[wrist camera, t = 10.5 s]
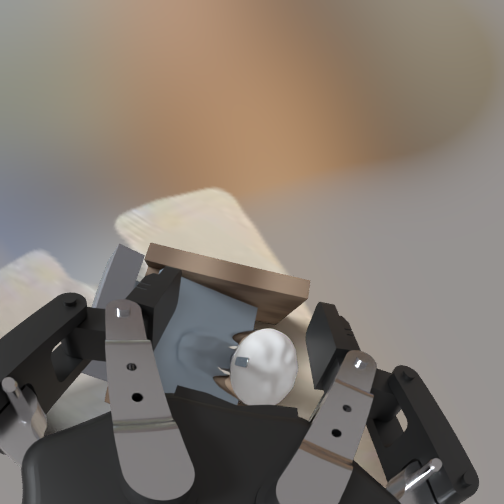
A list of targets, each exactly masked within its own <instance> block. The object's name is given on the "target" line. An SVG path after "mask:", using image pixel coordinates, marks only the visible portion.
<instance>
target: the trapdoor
mask: <svg viewBox="0 0 504 504" xmlns="http://www.w3.org/2000/svg"><path fill="white" fill-rule="evenodd" d="M144 256H145V255H142V254H140V253H138V252H136V251H134V250H132V249H130V248H128V247H125V246H123V245H121V244H119V245H118V246H117V248H116V250H115V251H114V253H113V255H112V256H111V257H110V259H109V260H108V262H107V264H106V267H105V270H104V272H103V275H102V278H101V281H100V283H99V286H98V289H97V292H96V295H95V298H94V301H93V304H92V308H100V309H106V306H107V304H108V303H109V302H111V301H114V300H118V299H125V298H126V297H127V296H128V295H129V294H130V293H131V291H132V290H133V289H134V288H135V287H136V286H137V285H138V284H139V283H140V282H138V281H136V279H137V276H138V273H139V270H140V267H141V265H142V262H143V259H144ZM162 270H163V269H162ZM162 270H160V272H161V271H162ZM160 272H159V273H160ZM257 309H258V308H257V307H254V306H252V305H249V304H247V303H244V302H241V301H239V300H236V299H234V298H232V297H229V296H227V295H224V294H222V293H219V292H217V291H214V290H212V289H210V288H207V287H205V286H202V285H200V284H198V283H195V282H193V281H191V280H188V279H186V278H184V277H181V283H180V291H179V298H178V304H177V307H176V310H175V312H174V314H173V316H172V318H171V320H170V321H169V323H168V325H167V327H166V329H165V331H164V333H163V335H162V337H161V338H160V340H159V342H158V344H157V346H156V348H155V350H154V352H153V353H154V357H155V361H156V365H157V368H158V372H159V376H160V379H161V383H162V386H163V390H164V393H175V390H176V387H177V385H179V386H183V387H186V388H190V389H194V390H198V391H202V392H206V393H209V394H211V395H213V396H216V397H218V398H220V399H223V400H225V401H227V402H230V403H232V404H235V405H238V399H236V398H235V397H233V396H231V395H229V394H228V393H226V392H224V391H223V390H221V389H219V388H218V387H216V386H214V385H212V384H210V383H209V382H207V381H205V380H204V379H202V378H200V377H198V376H197V375H195V374H193V373H192V372H190V371H189V370H187V369H185V368H184V366H183V365H182V363H181V362H180V360H179V359H178V344H179V343H180V341H181V340H182V338H183V337H184V336H185V334H188V333H191V332H194V331H197V330H206V331H240V330H253V329H254V324H255V319H256V314H257ZM81 373H84V374H87V375H90V376H92V377H95V378H98V379H101V380H104V381H107V382H108V380H107V368H106V362H104V361H96V360H92V361H91V362H90V363H89V364H88V365H87V367H86V368H85V369H84V370H83V371H82V372H81Z"/></svg>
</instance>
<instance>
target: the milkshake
mask: <svg viewBox="0 0 504 504" xmlns="http://www.w3.org/2000/svg"><path fill="white" fill-rule="evenodd" d="M178 359H179V360H180V362H181V363H182V365H183V366H184V368H185V369H187V370H189V371H190V372H192V373H193V374H195V375H197V376H198V377H200V378H202V379H204V380H205V381H207V382H209V383H210V384H212V385H214V386H216V387H218V388H219V389H221V390H223V391H224V392H226V393H228V394H229V395H231V396H233V397H235V398H236V399H238V400H240V401H241V402H243V403H245V404H247V405H276V404H277V403H279V402H280V401H281V400H282V399H283V398H284V397H285V396H286V395H287V394H288V393H289V392H290V391H291V389H292V388H293V386H294V383H295V379H296V376H297V372H298V362H297V356H296V350H295V347H294V345H293V343H292V341H291V340H290V339H289V338H288V337H287V336H286V335H285V334H283V333H282V332H280V331H277V330H275V329H270V328H266V329H257V330H240V331H206V330H197V331H194V332H191V333H188V334H185V336H184V337H183V338H182V340H181V341H180V343H179V344H178Z"/></svg>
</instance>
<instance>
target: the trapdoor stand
mask: <svg viewBox="0 0 504 504" xmlns="http://www.w3.org/2000/svg"><path fill="white" fill-rule="evenodd" d="M144 260H145V261H146V263H147V265H148V269H147V272H146V275H145V276H147V275H149V274H152V273H156V274H159V272H160V270H162V269H164V268H165V266H170V267H173V268H177V269H181V270H182V275H181V277H184V278H186V279H188V280H191V281H193V282H195V283H198V284H200V285H202V286H205V287H207V288H210V289H212V290H214V291H217V292H219V293H222V294H224V295H227V296H229V297H232V298H234V299H236V300H239V301H241V302H244V303H247V304H249V305H252V306H254V307H257V308H258V309H257V314H256V319H255V320H256V321H260V322H265V323H270V324H275V325H276V324H277V323H278V322H280V321H281V320H282V319H283V318H285V317H286V316H287V315H288V314H290V313H291V312H292V311H293V310H295V309H296V308H297V307H298V306H300V305H301V304H302V303H303V302H304V301H306V300H307V299H308V294H309V287H310V281H309V280H305V279H301V278H297V277H292V276H288V275H283V274H279V273H275V272H270V271H266V270H262V269H258V268H253V267H249V266H245V265H241V264H236V263H232V262H228V261H224V260H219V259H215V258H211V257H207V256H203V255H199V254H195V253H191V252H186V251H182V250H178V249H174V248H170V247H166V246H162V245H158V244H154V243H150V246H149V248H148V251H147V254H146V256H145V259H144ZM105 402H107V403H109V404H110V399H109V390H108V387H107V392H106V397H105ZM238 405H243V404H238Z"/></svg>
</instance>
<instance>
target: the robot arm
mask: <svg viewBox="0 0 504 504" xmlns="http://www.w3.org/2000/svg"><path fill="white" fill-rule="evenodd" d="M181 275H182V270H181V269H177V268H173V267H170V266H165V268H164V269H163V270H162V271H161V272H160V273H159V274H156V273H152V274H149V275H147V276H145V277H144V278H143V279H142V280H141V281H140V283H139V284H138V285H137V286H136V287H135V288H134V289H133V290H132V291H131V293H130V294H129V295H128V296H127V297H126V298H125V299H118V300H114V301H111V302H109V303H108V304H107V306H106V309H100V308H92V307H87V302H86V299H85V298H84V297H83V296H82V295H80V294H77V293H64V294H61V295H59V296H57V297H56V298H55V299H53V300H52V301H50V302H49V303H47V304H46V305H45V306H43V307H42V308H41V309H39V310H38V311H36V312H35V313H34V314H32V315H31V316H30V317H28V318H27V319H26V320H24V321H23V322H22V323H20V324H19V325H18V326H16V327H15V328H14V329H12V330H11V331H10V332H9V333H7V334H6V335H5V336H4V337H2V338H1V339H0V453H2V454H5V455H7V456H8V457H10V458H11V459H12V460H13V461H14V462H15V463H16V464H17V465H19V466H20V467H21V472H22V483H23V499H22V504H460V503H461V502H463V501H465V500H466V499H467V498H469V497H470V496H472V495H473V494H474V493H475V492H476V491H477V489H478V486H479V478H478V475H477V473H476V471H475V469H474V467H473V465H472V464H471V462H470V460H469V458H468V456H467V454H466V452H465V450H464V449H463V447H462V445H461V443H460V441H459V440H458V438H457V436H456V434H455V433H454V431H453V429H452V427H451V426H450V424H449V422H448V421H447V419H446V417H445V416H444V414H443V412H442V411H441V409H440V408H439V406H438V405H437V403H436V401H435V399H434V398H433V396H432V395H431V393H430V392H429V390H428V388H427V387H426V385H425V384H424V382H423V381H422V379H421V378H420V376H419V375H418V373H417V372H416V371H414V370H413V369H411V368H410V367H407V366H403V365H400V366H397V367H395V369H394V370H393V372H392V373H388V372H386V371H383V370H380V369H377V364H376V362H375V360H374V359H373V358H372V357H371V356H370V355H368V354H367V353H364V352H362V351H361V350H360V348H359V346H358V343H357V341H356V339H355V337H354V334H353V332H352V331H351V330H352V329H351V327H350V325H349V323H348V322H347V321H346V320H345V319H344V318H343V317H342V316H339V314H338V311H337V309H336V307H335V305H333V304H329V303H323V302H319V303H318V304H317V306H316V309H315V311H314V314H313V316H312V319H311V321H310V324H309V326H308V329H307V332H306V345H307V350H308V356H309V361H310V367H311V372H312V378H313V384H314V389H318V390H324V394H323V396H322V397H321V399H320V401H319V403H318V405H317V406H316V408H315V410H314V412H313V413H312V415H311V417H310V419H309V420H308V421H307V420H305V419H303V418H300V417H298V412H297V408H291V407H283V406H276V405H235V404H232V403H230V402H227V401H225V400H223V399H220V398H218V397H216V396H213V395H211V394H209V393H206V392H202V391H198V390H194V389H190V388H186V387H183V386H179V385H177V387H176V390H175V393H164V390H163V386H162V383H161V379H160V376H159V372H158V368H157V365H156V361H155V357H154V353H153V352H154V350H155V348H156V346H157V344H158V342H159V340H160V338H161V337H162V335H163V333H164V331H165V329H166V327H167V325H168V323H169V321H170V320H171V318H172V316H173V314H174V312H175V310H176V307H177V304H178V298H179V291H180V283H181ZM60 341H61V343H62V344H60V345H59V346H58V347H57V348H56V349H55V350H54V351H53V352H52V350H53V348H54V347H55V346H56V345H57V344H58V343H59V342H60ZM92 360H96V361H104V362H106V368H107V380H108V390H109V399H110V407H111V411H110V412H107V413H105V414H103V415H100V416H98V417H95V418H93V419H91V420H88V421H86V422H83V423H81V424H78V425H75V426H73V427H70V428H68V429H65V430H62V431H59V432H57V433H54V434H51V435H48V436H45V437H43V436H44V432H45V430H46V427H47V418H46V413H47V412H48V411H49V410H50V409H51V407H52V406H53V405H54V404H55V403H56V401H57V400H58V399H59V398H60V397H61V395H62V394H63V393H64V392H65V391H66V390H67V388H68V387H69V386H70V385H71V384H72V383H73V381H74V380H75V379H76V378H77V377H78V376H79V375H80V373H81V372H82V371H83V370H84V369H85V368H86V367H87V365H88V364H89V363H90V362H91V361H92ZM401 409H402V411H403V412H404V415H405V416H406V418H407V422H408V425H407V429H406V431H405V432H403V430H402V427H401V425H400V423H399V421H398V419H397V417H396V414H398V412H399V411H400V410H401ZM365 424H366V426H367V428H368V431H369V433H370V436H371V439H372V441H373V444H374V446H375V449H376V452H377V454H378V457H379V460H380V462H381V465H382V468H383V470H384V473H385V476H386V479H387V482H388V484H387V487H386V489H385V488H384V487H383V486H382V485H381V484H380V483H378V482H377V481H376V480H375V479H374V478H373V477H372V476H370V475H369V474H368V473H367V472H366V471H365V470H364V469H363V468H362V467H361V466H359V465H358V464H357V463H356V462H355V461H354V460H353V458H354V456H355V453H356V450H357V448H358V445H359V442H360V439H361V436H362V433H363V430H364V427H365Z"/></svg>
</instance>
